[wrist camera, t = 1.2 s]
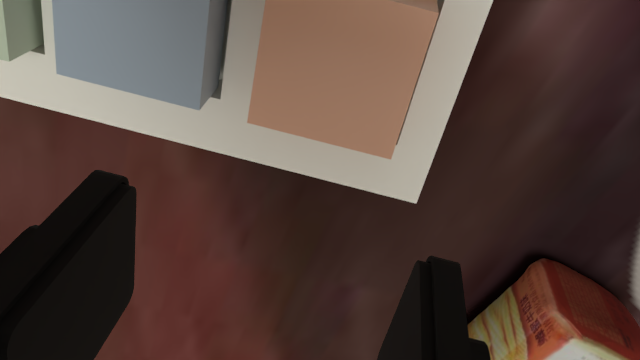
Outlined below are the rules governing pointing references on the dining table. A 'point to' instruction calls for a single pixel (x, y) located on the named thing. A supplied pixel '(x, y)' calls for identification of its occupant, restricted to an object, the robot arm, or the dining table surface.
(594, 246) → the dining table surface
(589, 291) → the snack package
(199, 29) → the button slate
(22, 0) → the button sage
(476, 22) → the button panel
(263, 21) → the button terracotta
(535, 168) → the dining table surface
